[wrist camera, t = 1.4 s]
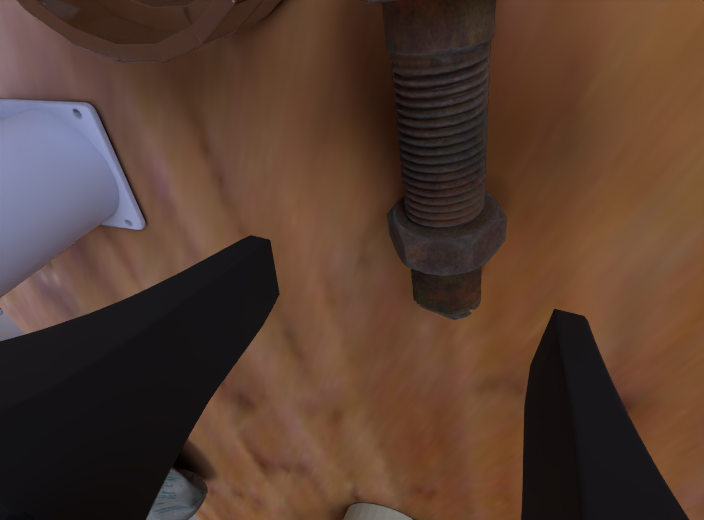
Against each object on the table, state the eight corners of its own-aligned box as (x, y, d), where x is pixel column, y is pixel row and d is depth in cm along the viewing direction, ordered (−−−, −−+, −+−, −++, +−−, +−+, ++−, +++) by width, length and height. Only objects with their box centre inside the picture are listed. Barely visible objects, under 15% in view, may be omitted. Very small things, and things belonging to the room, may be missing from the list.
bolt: (442, 252, 24) (430, -87, 15) (525, 290, 21) (578, -114, 11) (369, 311, 21) (299, -57, 12) (452, 365, 18) (442, -82, 9)
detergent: (231, 488, 54) (121, 361, 40) (196, 549, 49) (56, 430, 35) (159, 462, 60) (40, 343, 46) (121, 514, 55) (-25, 400, 41)
